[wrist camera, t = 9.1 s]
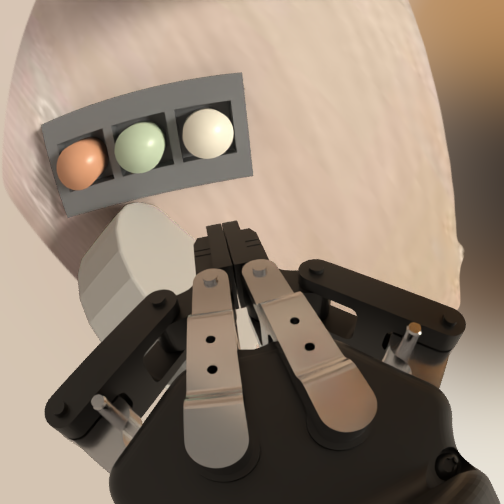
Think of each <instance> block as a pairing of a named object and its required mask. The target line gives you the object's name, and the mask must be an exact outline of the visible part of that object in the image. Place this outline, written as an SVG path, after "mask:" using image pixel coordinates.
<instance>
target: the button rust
mask: <svg viewBox="0 0 504 504" xmlns="http://www.w3.org/2000/svg"><path fill="white" fill-rule="evenodd" d="M108 160H109V155H108V151H107V147H106V145H105V144H104V143H103V142H102V141H101V140H100V139H98V138H95V137H86V138H83V139H81V140H79V141H77V142H76V143H74V144H72V145H70V146H68V147H67V148H65V149H64V150H63V151H62V152H61V154H60V156H59V158H58V161H57V174H58V177H59V179H60V181H61V182H62V183H63V184H64V185H65V186H66V187H67V188H69V189H72V190H83V189H86V188H88V187H89V186H90V185H91V184H92V183H93V182H94V181H95V180H96V179H97V178H98V177H99V176H100V174H101V173H102V172H103V171H104V170H105V168H106V167H107V164H108Z"/></svg>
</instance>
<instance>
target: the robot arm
mask: <svg viewBox="0 0 504 504" xmlns="http://www.w3.org/2000/svg"><path fill="white" fill-rule="evenodd" d="M222 228H223V230H222ZM206 229H207V235H208V236H207V237H202V238H197V240H196V241H195V243H194V245H193V247H194V259H195V271H196V276H195V278H194V280H193V286H192V287H191V288H189V289H188V290H186V291H185V292H183V293H180V294H178V295H176V294H175V293H174V292H172V291H170V290H166V289H162V290H157V291H154V292H152V293H150V294H149V295H147V296H146V297H145V298H144V299H143V300H142V301H141V302H140V303H139V304H138V305H137V306H136V307H135V308H134V309H133V310H132V311H131V312H130V313H129V314H128V315H127V316H126V317H125V318H124V319H123V320H122V321H121V322H120V323H119V324H118V326H117V327H116V328H115V329H114V330H113V331H112V332H111V333H110V334H109V335H108V336H107V337H106V338H105V339H104V340H103V341H102V342H101V343H100V344H99V345H98V346H97V347H96V348H95V349H94V351H93V352H92V353H91V354H90V355H89V356H88V357H87V358H86V359H85V360H84V361H83V362H82V363H81V365H79V367H78V368H77V369H76V370H75V371H74V372H73V373H72V374H71V375H70V376H69V377H68V379H67V380H66V381H65V382H64V383H63V384H62V385H61V386H60V387H59V389H58V390H57V391H56V392H55V393H54V394H53V395H52V396H51V398H50V399H49V400H48V402H47V404H46V406H45V418H46V420H47V422H48V423H49V425H51V426H52V427H53V428H55V429H56V430H57V431H59V432H60V433H61V434H62V435H63V436H64V437H66V438H67V439H68V440H70V441H71V442H73V443H74V444H76V445H77V446H79V447H80V448H82V449H83V450H84V451H85V452H86V453H87V454H88V455H89V456H90V457H91V458H93V459H94V460H95V461H96V462H97V463H98V464H99V465H100V466H102V467H103V468H104V469H105V470H107V472H109V473H110V477H109V488H110V493H111V497H112V499H113V501H114V503H115V504H500V501H499V499H498V497H497V495H496V493H495V491H494V489H493V486H492V484H491V482H490V480H489V478H488V477H487V476H486V475H485V474H484V473H483V472H481V471H480V470H478V469H477V468H475V467H474V466H472V465H471V464H470V463H469V462H467V461H466V460H465V459H464V458H463V457H462V456H461V455H460V453H459V452H458V450H457V448H456V445H455V441H454V436H453V428H452V411H451V407H450V404H449V401H448V400H447V398H446V396H445V395H444V394H443V392H442V391H441V390H440V389H439V387H440V385H441V381H442V378H443V375H444V372H445V368H446V365H447V361H448V357H449V355H450V353H451V352H452V350H453V348H454V347H455V345H456V344H457V342H458V340H459V339H460V337H461V335H462V334H463V332H464V330H465V326H466V323H465V319H464V317H463V316H462V315H461V313H459V312H458V311H457V310H455V309H453V308H451V307H448V306H446V305H443V304H441V303H438V302H435V301H433V300H430V299H427V298H425V297H422V296H419V295H417V294H414V293H411V292H409V291H406V290H403V289H401V288H398V287H395V286H393V285H390V284H387V283H384V282H382V281H379V280H376V279H374V278H371V277H368V276H365V275H363V274H360V273H357V272H354V271H352V270H349V269H346V268H343V267H341V266H338V265H335V264H332V263H329V262H327V261H324V260H319V259H313V260H308V261H305V262H303V263H302V264H301V265H300V266H299V271H289V270H281V269H278V267H277V265H276V264H275V263H274V262H272V261H270V260H269V259H268V257H267V254H266V252H265V250H264V248H263V246H262V245H261V242H260V240H259V238H258V235H257V233H256V232H254V231H253V230H251V229H250V228H248V229H243V230H240V227H239V225H238V222H237V221H231V222H226V223H222V226H221V224H216V225H210V226H206ZM237 296H238V297H237ZM238 299H239V303H240V307H241V308H245V307H246V308H247V311H248V317H249V322H250V325H251V327H252V330H253V332H254V335H255V337H256V339H257V342H258V344H259V347H260V348H258V349H241V348H240V341H239V334H238V327H237V321H236V320H237V313H236V309H239V303H238ZM331 300H332V301H334V302H337V303H339V304H341V305H344V306H346V307H349V308H351V309H353V310H354V311H355V312H356V314H357V316H355V315H353V314H350V313H348V312H345V311H343V310H341V309H338V308H336V307H333V306H331V305H330V303H331ZM157 339H158V341H157V342H156V343H155V341H156V340H157ZM154 343H155V344H154ZM153 344H154V346H153V347H152V348H151V349H150V350H149V351H148V349H149V348H150V347H151V346H152V345H153ZM147 351H148V353H147V354H146V355H145V353H146V352H147ZM144 355H145V356H144ZM186 359H187V361H186V370H185V371H183V372H182V373H181V374H180V375H178V376H177V378H176V379H175V380H174V381H173V382H172V383H171V385H170V386H169V388H168V389H167V391H166V392H165V393H164V395H163V396H162V398H161V399H160V400H159V402H158V403H157V405H156V406H155V407H154V409H153V410H152V412H151V413H150V414H149V416H148V417H147V419H146V420H145V421H144V423H143V424H142V420H141V417H142V416H143V415H144V414H145V412H146V411H147V410H148V409H149V407H150V406H151V405H152V403H153V402H154V401H155V400H156V398H157V397H158V396H159V394H160V393H161V392H162V390H163V389H164V388H165V387H166V385H167V384H168V383H169V381H170V380H171V379H172V377H173V376H174V375H175V373H176V372H177V371H178V370H179V368H180V367H181V366H182V364H183V363H184V362H185V360H186Z"/></svg>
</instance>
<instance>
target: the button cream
mask: <svg viewBox="0 0 504 504" xmlns="http://www.w3.org/2000/svg"><path fill="white" fill-rule="evenodd" d="M233 134H234V133H233V127H232V124H231V122H230V120H229V119H228V118H227V117H226V116H225V115H224V114H222V113H220V112H219V111H217V110H215V109H211V108H201V109H198V110H195V111H194V112H192V113H191V114H190V115H189V116H188V117H187V119H186V120H185V122H184V126H183V135H182V136H183V142H184V145H185V147H186V148H187V150H188V151H189V152H190V153H191V154H193V155H194V156H196V157H199V158H203V159H211V158H215V157H218V156H220V155H221V154H223V153H224V152H225V151H226V150H227V149H228V148H229V147H230V145H231V143H232V140H233Z"/></svg>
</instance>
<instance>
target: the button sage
mask: <svg viewBox="0 0 504 504" xmlns="http://www.w3.org/2000/svg"><path fill="white" fill-rule="evenodd" d="M165 146H166V135H165V132H164V130H163V129H162V128H161V127H160V126H159V125H158V124H157V123H155V122H152V121H140V122H137V123H135V124H133V125H132V126H130V127H128V128H127V129H125V130H124V131H123V132H122V133H121V134H120V135H119V137H118V138H117V140H116V143H115V157H116V160H117V162H118V163H119V165H120V166H121V167H122V168H123V169H125V170H126V171H128V172H131V173H144V172H147V171H150V170H151V169H153V168H154V167H155V166H156V165H157V164H158V163H159V161H160V159H161V157H162V154H163V152H164V149H165Z"/></svg>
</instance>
